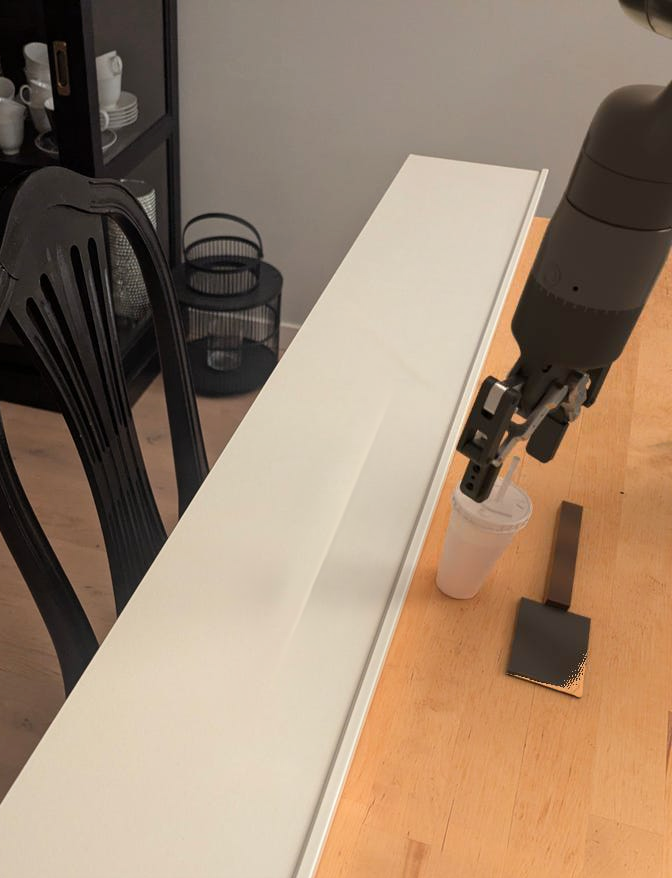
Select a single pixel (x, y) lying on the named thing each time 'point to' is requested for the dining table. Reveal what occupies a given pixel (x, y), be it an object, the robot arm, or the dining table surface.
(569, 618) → the spatula
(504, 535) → the smoothie
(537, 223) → the dining table surface
